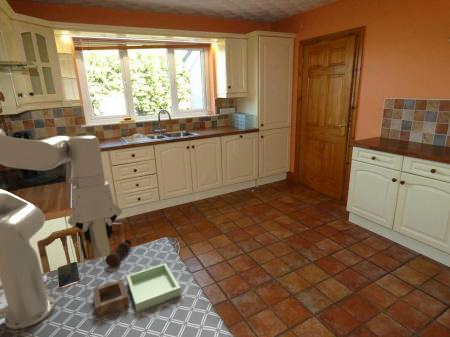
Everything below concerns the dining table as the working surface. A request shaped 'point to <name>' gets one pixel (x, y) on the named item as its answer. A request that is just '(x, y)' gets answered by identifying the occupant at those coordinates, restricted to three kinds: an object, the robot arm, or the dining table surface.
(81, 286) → the dining table surface
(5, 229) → the robot arm
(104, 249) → the box
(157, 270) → the tray
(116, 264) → the bolt
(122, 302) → the frame
